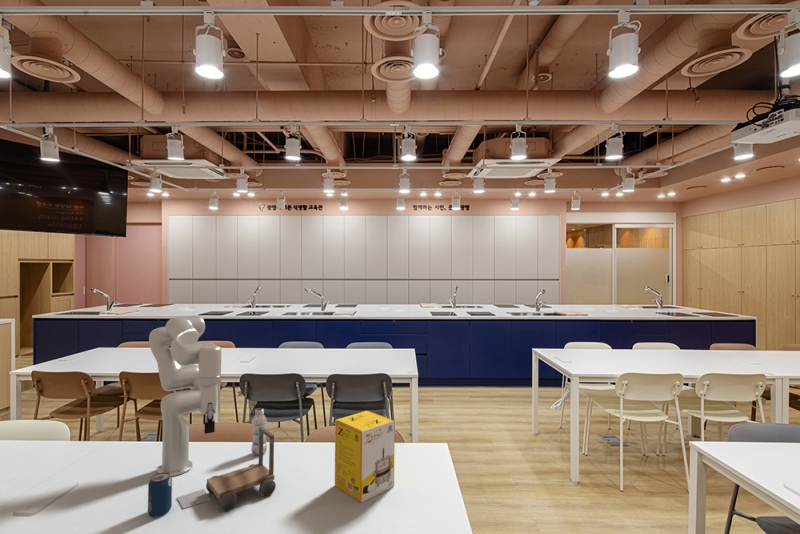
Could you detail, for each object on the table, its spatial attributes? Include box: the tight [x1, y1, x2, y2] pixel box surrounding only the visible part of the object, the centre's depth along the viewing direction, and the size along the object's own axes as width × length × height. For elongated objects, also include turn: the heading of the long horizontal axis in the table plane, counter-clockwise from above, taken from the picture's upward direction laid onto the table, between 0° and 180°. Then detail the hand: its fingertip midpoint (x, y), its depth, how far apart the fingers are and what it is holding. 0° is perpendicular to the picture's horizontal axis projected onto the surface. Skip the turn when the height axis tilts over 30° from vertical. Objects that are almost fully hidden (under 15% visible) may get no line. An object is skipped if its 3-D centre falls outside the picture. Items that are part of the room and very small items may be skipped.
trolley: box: [205, 427, 277, 512], centre depth 148 cm, size 20×16×21 cm
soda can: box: [147, 473, 173, 518], centre depth 136 cm, size 7×7×12 cm
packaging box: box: [334, 410, 396, 503], centre depth 154 cm, size 16×16×25 cm
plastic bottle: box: [250, 407, 268, 456], centre depth 181 cm, size 6×7×20 cm
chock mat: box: [176, 488, 212, 510], centre depth 144 cm, size 9×9×1 cm
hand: (208, 428), depth 145 cm, fingers open, 9 cm apart
